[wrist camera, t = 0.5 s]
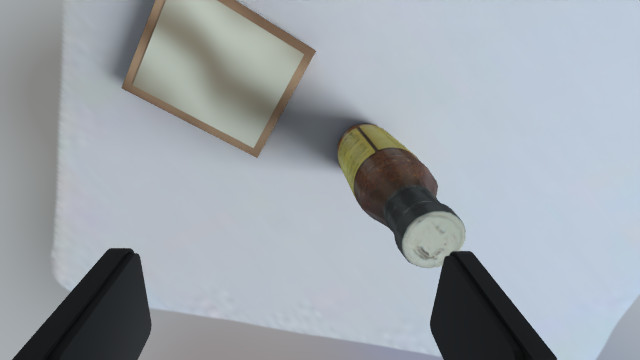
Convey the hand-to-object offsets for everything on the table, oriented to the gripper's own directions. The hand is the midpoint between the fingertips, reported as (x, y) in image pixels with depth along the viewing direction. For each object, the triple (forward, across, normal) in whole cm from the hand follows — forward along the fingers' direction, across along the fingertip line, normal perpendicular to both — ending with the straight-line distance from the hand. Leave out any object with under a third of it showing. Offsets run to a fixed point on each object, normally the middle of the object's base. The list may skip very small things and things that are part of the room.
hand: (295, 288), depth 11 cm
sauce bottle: (+29, -8, +4) cm, 30 cm away
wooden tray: (+28, +7, -4) cm, 30 cm away
